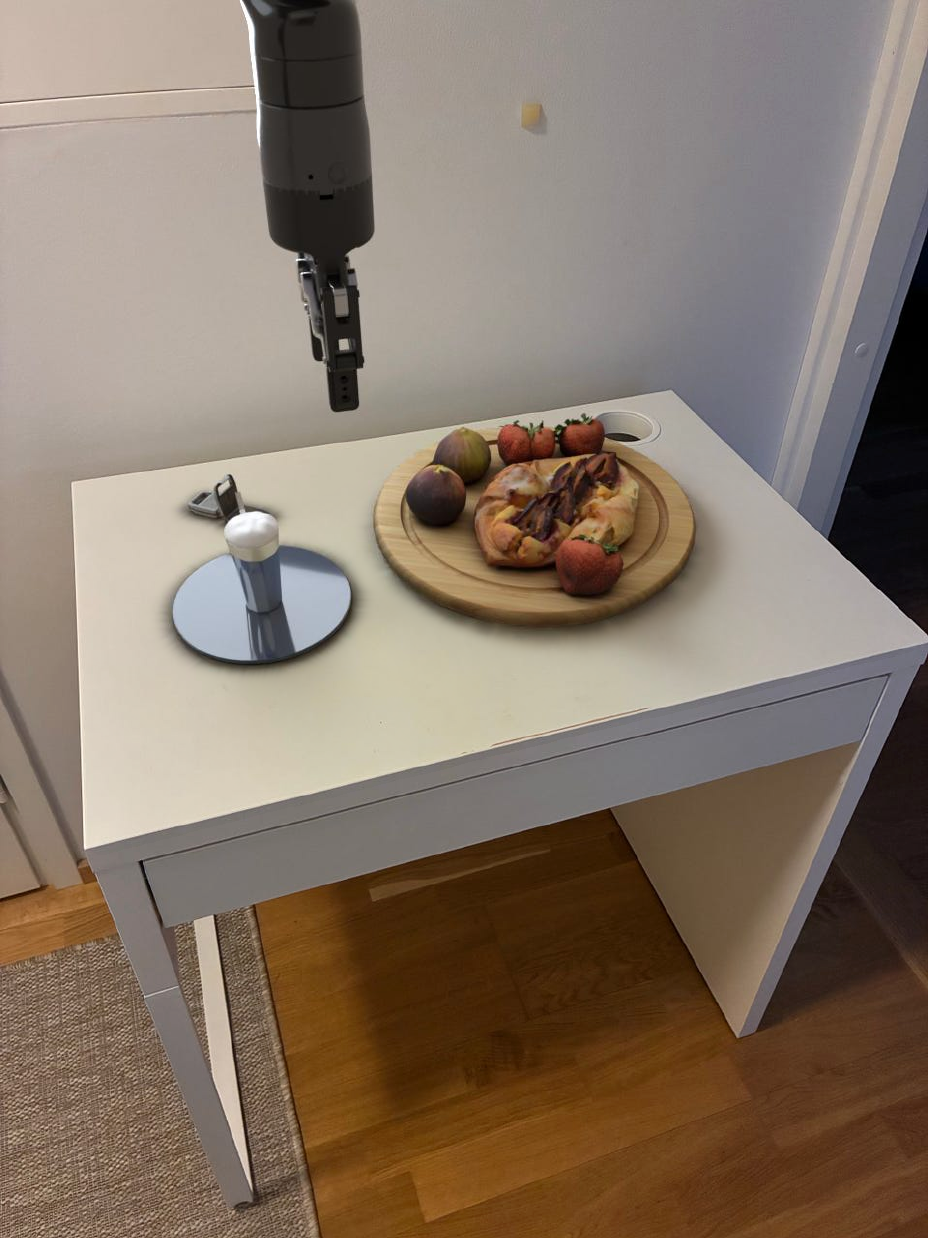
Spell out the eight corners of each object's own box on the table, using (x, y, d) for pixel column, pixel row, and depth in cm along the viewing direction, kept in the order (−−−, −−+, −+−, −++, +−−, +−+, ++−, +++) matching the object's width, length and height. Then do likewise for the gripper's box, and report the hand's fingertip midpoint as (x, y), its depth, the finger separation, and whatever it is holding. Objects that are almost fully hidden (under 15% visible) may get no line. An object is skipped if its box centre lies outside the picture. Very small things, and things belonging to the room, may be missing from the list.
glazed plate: (198, 688, 80) (197, 683, 79) (155, 577, 90) (154, 572, 90) (377, 632, 85) (377, 627, 84) (317, 533, 95) (317, 528, 95)
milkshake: (277, 575, 90) (263, 485, 83) (296, 609, 86) (282, 518, 79) (229, 588, 88) (211, 498, 81) (246, 624, 85) (228, 532, 78)
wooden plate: (731, 627, 86) (750, 554, 80) (373, 641, 84) (367, 567, 78) (655, 437, 109) (665, 371, 104) (374, 445, 108) (370, 378, 102)
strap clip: (186, 511, 98) (178, 476, 95) (204, 495, 100) (196, 461, 97) (256, 532, 95) (249, 497, 93) (273, 516, 98) (267, 481, 95)
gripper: (250, 141, 70) (277, 349, 81) (274, 207, 60) (301, 434, 71) (351, 135, 72) (364, 339, 82) (392, 197, 61) (400, 421, 72)
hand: (335, 383), depth 77 cm, fingers open, 8 cm apart
